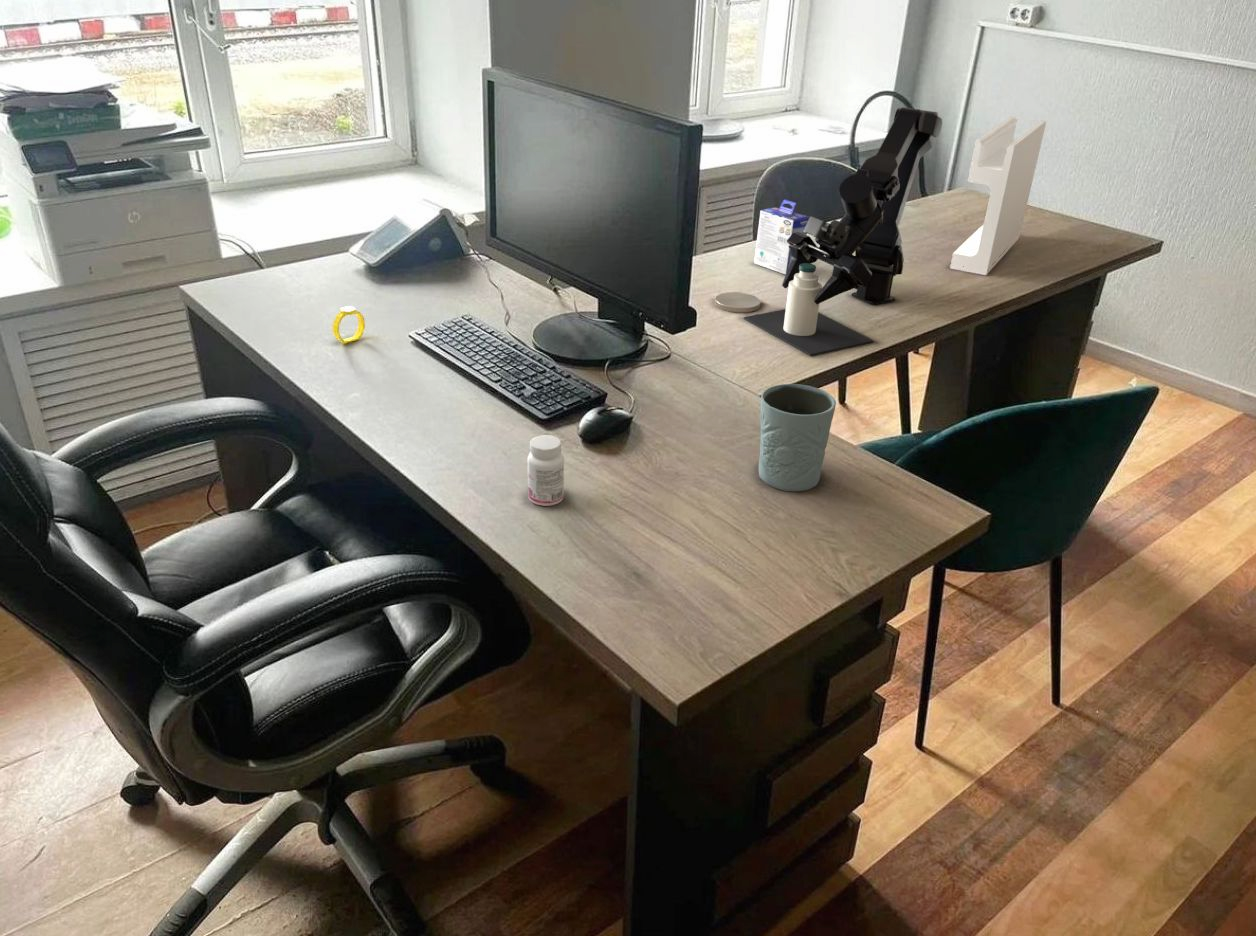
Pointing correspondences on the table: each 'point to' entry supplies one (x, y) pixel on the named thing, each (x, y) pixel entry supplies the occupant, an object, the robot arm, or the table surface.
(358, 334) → the yellow ring
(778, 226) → the ink cartridge box
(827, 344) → the felt mat
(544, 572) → the table surface
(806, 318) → the bottle
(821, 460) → the light blue embossed cup
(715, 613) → the table surface
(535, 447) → the pill bottle
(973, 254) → the white stand
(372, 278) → the table surface
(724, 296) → the off-white round coaster
